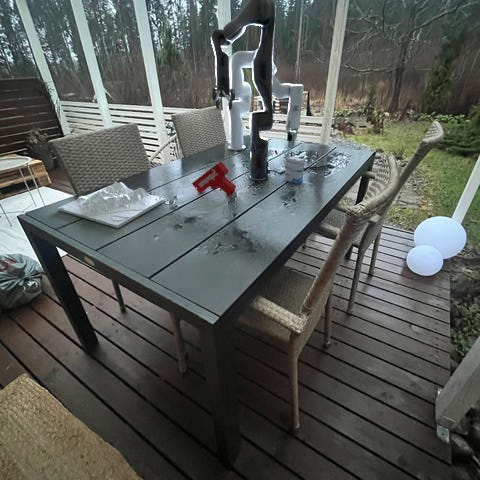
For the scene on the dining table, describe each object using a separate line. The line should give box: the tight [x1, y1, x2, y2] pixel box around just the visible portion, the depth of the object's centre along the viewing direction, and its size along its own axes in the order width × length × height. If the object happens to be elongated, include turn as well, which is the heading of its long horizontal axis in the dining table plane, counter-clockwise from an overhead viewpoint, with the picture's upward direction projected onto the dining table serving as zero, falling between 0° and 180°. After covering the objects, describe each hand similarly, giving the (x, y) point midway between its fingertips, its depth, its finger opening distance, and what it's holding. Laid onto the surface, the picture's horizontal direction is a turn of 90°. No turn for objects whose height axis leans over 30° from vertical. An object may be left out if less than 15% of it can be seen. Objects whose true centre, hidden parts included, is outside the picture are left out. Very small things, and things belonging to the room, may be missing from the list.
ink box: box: [284, 156, 306, 185], centre depth 140 cm, size 8×5×12 cm, turn 47°
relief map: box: [57, 180, 166, 229], centre depth 118 cm, size 27×35×5 cm
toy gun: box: [191, 161, 237, 197], centre depth 128 cm, size 18×4×15 cm
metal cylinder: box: [286, 131, 297, 149], centre depth 171 cm, size 5×5×10 cm
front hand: (224, 109), depth 155 cm, fingers open, 8 cm apart
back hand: (291, 139), depth 171 cm, fingers closed on metal cylinder, 4 cm apart
